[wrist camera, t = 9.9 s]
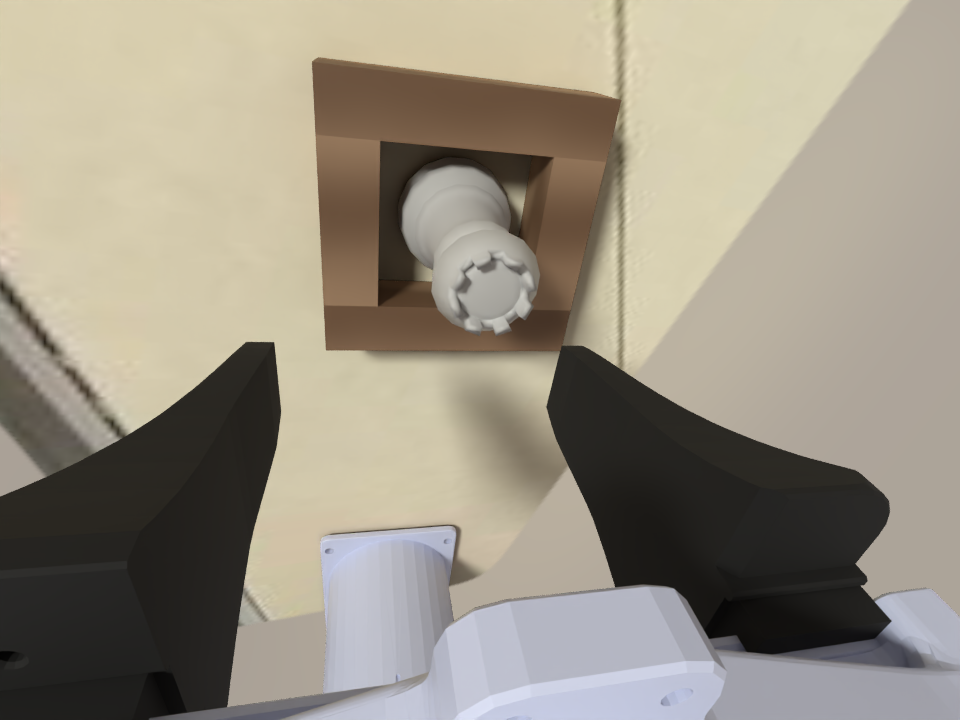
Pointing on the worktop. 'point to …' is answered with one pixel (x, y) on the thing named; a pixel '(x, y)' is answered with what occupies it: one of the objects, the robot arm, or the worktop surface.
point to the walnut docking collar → (458, 124)
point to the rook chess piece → (468, 245)
